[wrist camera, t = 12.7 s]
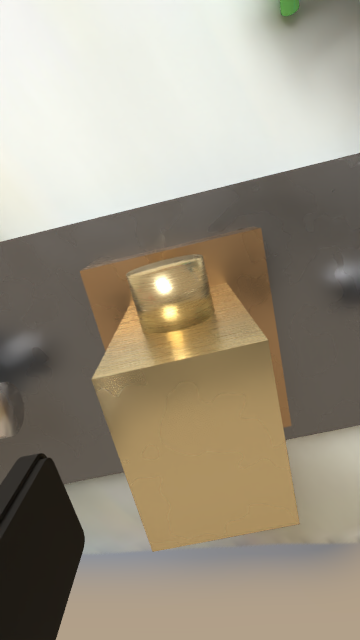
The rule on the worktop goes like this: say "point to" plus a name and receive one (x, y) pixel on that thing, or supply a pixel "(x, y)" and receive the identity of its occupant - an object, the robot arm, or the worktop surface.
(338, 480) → the worktop surface
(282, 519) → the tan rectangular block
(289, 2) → the gear
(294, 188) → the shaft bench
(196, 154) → the worktop surface
